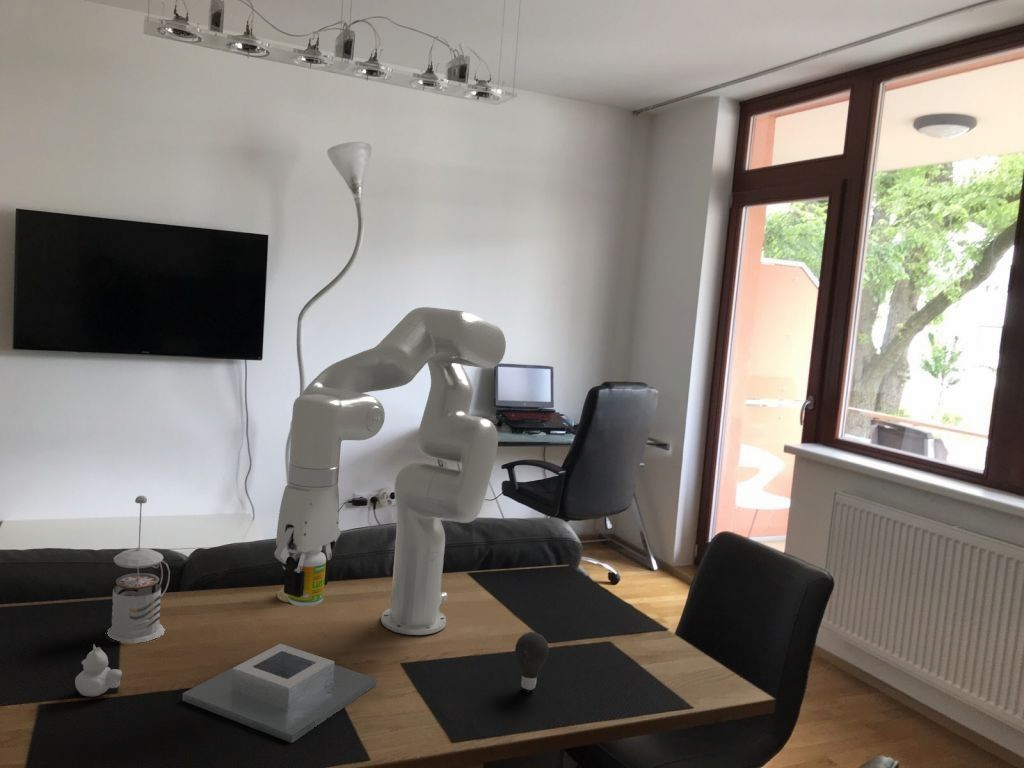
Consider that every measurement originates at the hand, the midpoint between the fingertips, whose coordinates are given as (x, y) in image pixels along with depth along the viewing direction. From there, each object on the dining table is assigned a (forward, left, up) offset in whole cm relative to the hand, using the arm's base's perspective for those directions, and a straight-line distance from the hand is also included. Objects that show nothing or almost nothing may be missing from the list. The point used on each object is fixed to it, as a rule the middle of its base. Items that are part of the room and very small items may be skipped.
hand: (305, 587), depth 132 cm
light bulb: (-23, +30, -18) cm, 41 cm away
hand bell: (-32, -26, -18) cm, 45 cm away
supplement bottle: (0, 0, -2) cm, 2 cm away
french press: (-2, -37, -18) cm, 41 cm away
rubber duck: (+17, -24, -18) cm, 35 cm away
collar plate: (+1, -2, -18) cm, 18 cm away
